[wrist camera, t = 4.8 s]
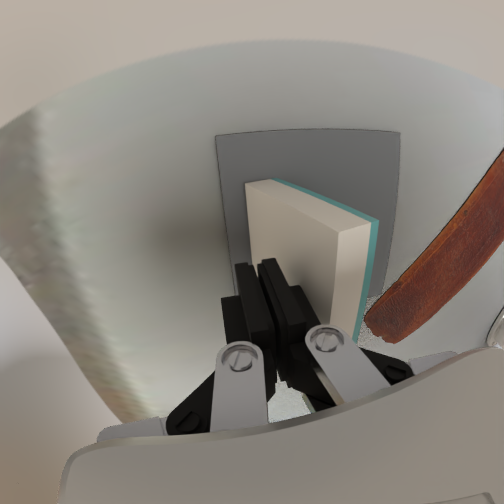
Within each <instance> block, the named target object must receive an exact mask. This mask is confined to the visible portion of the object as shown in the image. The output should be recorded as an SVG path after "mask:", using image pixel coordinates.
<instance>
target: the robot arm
mask: <svg viewBox="0 0 504 504" xmlns="http://www.w3.org/2000/svg"><path fill="white" fill-rule="evenodd" d="M234 266H235V274H236V281H237V288H238V295H237V296H230V297H224V298H221V304H222V311H223V319H224V327H225V334H226V341H227V345H226V346H224V347H223V348H222V349H221V350H220V351H219V353H218V355H217V358H216V368H215V371H214V372H213V373H212V374H211V375H210V376H209V377H208V378H207V379H206V380H205V381H204V382H203V383H202V384H201V385H200V386H199V387H198V388H197V389H196V390H194V391H193V392H192V393H191V394H190V395H189V396H188V397H187V398H186V399H185V400H184V401H183V402H182V403H181V404H179V405H178V406H177V407H176V408H175V409H174V410H173V411H172V412H171V413H170V414H169V416H168V417H165V418H161V419H160V418H159V416H157V417H153V418H149V419H145V420H140V421H136V422H131V423H126V424H121V425H115V426H110V427H107V428H104V429H103V430H102V431H101V432H100V433H99V435H98V437H97V443H94V444H91V445H88V446H86V447H83V448H81V449H79V450H78V451H76V452H74V453H73V454H72V455H71V456H70V457H69V459H68V460H67V462H66V464H65V466H64V469H63V472H62V475H61V479H60V484H59V490H58V498H57V504H504V308H503V310H502V311H501V313H500V315H499V316H498V318H497V319H496V321H495V323H494V325H493V326H492V328H491V330H490V332H489V335H488V337H487V344H488V345H489V346H490V347H485V348H477V349H473V350H469V351H466V352H463V353H461V354H457V353H455V352H452V351H448V352H443V353H438V354H434V355H429V356H425V357H420V358H415V359H409V361H408V363H405V362H404V361H401V360H399V359H396V358H392V357H389V356H386V355H382V354H379V353H376V352H373V351H370V350H366V349H363V348H360V347H358V346H357V345H356V344H355V342H354V341H353V340H352V339H351V338H350V336H349V335H348V334H347V333H346V332H345V331H344V330H343V329H342V328H340V327H338V326H335V325H330V324H322V325H321V323H320V321H319V319H318V317H317V315H316V313H315V312H314V310H313V308H312V306H311V304H310V302H309V301H308V299H307V297H306V295H305V293H304V291H303V290H302V288H301V286H300V285H294V286H289V284H288V282H287V280H286V278H285V276H284V274H283V272H282V270H281V268H280V266H279V264H278V262H277V260H276V258H268V259H262V260H261V263H259V264H257V272H258V277H257V274H256V271H255V268H254V265H248V262H243V263H237V264H234ZM497 343H498V344H499V345H500V346H501V347H502V348H503V349H500V348H497V347H491V346H494V345H495V344H497ZM277 371H278V374H279V377H280V380H281V382H282V381H286V383H287V386H288V388H291V387H292V388H293V389H295V390H297V391H300V392H301V396H302V398H303V400H304V402H305V404H306V405H307V407H308V409H309V410H310V412H311V414H308V415H304V416H300V417H296V418H292V419H288V420H283V421H279V422H274V423H269V421H268V405H267V402H268V401H269V400H270V399H271V397H272V396H273V395H274V394H275V383H277Z"/></svg>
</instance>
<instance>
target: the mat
mask: <svg viewBox="0 0 504 504" xmlns="http://www.w3.org/2000/svg"><path fill="white" fill-rule="evenodd" d="M215 137H216V146H217V155H218V164H219V172H220V181H221V189H222V197H223V206H224V213H225V221H226V229H227V237H228V244H229V252H230V259H231V266H232V273H233V281H234V288H235V295H236V296H237V295H238V288H237V281H236V274H235V266H234V264H237V263H243V262H248V265H252V255H251V244H250V233H249V223H248V212H247V201H246V190H245V183H250V182H255V181H261V180H267V179H272V178H279V179H281V180H284V181H287V182H289V183H292V184H295V185H297V186H300V187H302V188H305V189H307V190H310V191H313V192H315V193H318V194H320V195H322V196H325V197H327V198H330V199H332V200H334V201H337V202H339V203H342V204H344V205H346V206H349V207H351V208H353V209H355V210H358V211H360V212H362V213H364V214H366V215H369V216H371V217H373V218H375V219H377V220H379V226H378V234H377V242H376V249H375V256H374V262H373V269H372V275H371V280H370V286H369V291H368V296H367V298H369V297H372V296H376V295H380V294H381V293H382V289H383V284H384V279H385V274H386V269H387V264H388V259H389V253H390V247H391V241H392V234H393V227H394V220H395V211H396V202H397V192H398V179H399V163H400V133H398V132H388V131H374V130H354V129H294V130H274V131H259V132H247V133H237V134H228V135H219V136H215Z"/></svg>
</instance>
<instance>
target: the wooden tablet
mask: <svg viewBox="0 0 504 504" xmlns="http://www.w3.org/2000/svg"><path fill="white" fill-rule="evenodd" d="M503 240H504V150H503V152H502V153H501V155H500V156H499V157H498V158H497V160H496V161H495V163H494V164H493V165H492V167H491V168H490V169H489V171H488V172H487V174H486V175H485V177H484V178H483V179H482V181H481V182H480V183H479V185H478V186H477V187H476V189H475V190H474V191H473V193H472V194H471V196H470V197H469V198H468V200H467V201H466V202H465V204H464V205H463V206H462V208H461V209H460V210H459V211H458V213H457V214H456V215H455V216H454V217H453V218H452V219H451V221H450V222H449V223H448V224H447V226H446V227H445V228H444V229H443V230H442V232H441V233H440V234H439V235H438V236H437V237H436V238H435V240H434V241H433V242H432V243H431V244H430V245H429V246H428V248H427V249H426V250H425V251H424V252H423V253H422V254H421V255H420V256H419V258H418V259H417V260H416V261H415V262H414V263H413V264H412V265H411V266H410V267H409V268H408V269H407V270H406V271H405V273H404V274H403V275H402V276H401V277H400V278H399V280H398V281H397V282H395V283H394V284H393V285H392V286H391V288H390V289H389V290H388V291H387V292H386V293H385V294H384V295H383V296H382V297H381V298H380V299H379V300H378V301H377V302H376V303H375V305H374V306H373V307H372V308H371V310H370V311H369V312H368V313H367V315H366V316H365V319H364V321H365V323H366V324H367V327H368V328H370V330H371V331H372V333H373V334H374V335H375V336H377V337H379V336H382V339H383V340H384V341H385V342H387V343H393V344H395V343H397V342H399V341H401V340H403V339H404V338H405V337H407V336H408V335H410V334H411V333H413V332H414V331H415V330H416V329H418V328H419V327H420V326H422V325H423V324H424V323H425V322H427V321H428V320H429V319H430V318H431V317H432V316H433V315H435V314H436V313H437V312H438V311H439V310H440V309H441V308H442V307H443V306H444V305H445V304H446V303H447V302H448V301H449V300H450V299H451V298H452V297H453V296H454V295H456V294H457V293H458V292H459V291H460V290H461V289H462V288H463V287H464V286H465V285H466V284H467V283H468V282H469V281H470V279H471V278H472V277H473V276H474V275H475V274H476V273H477V272H478V271H479V270H480V269H481V267H482V266H483V265H484V264H485V263H486V262H487V261H488V259H489V258H490V257H491V256H492V254H493V253H494V252H495V251H496V249H497V248H498V247H499V245H500V244H501V243H502V242H503Z"/></svg>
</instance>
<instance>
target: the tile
mask: <svg viewBox="0 0 504 504" xmlns="http://www.w3.org/2000/svg"><path fill="white" fill-rule="evenodd" d="M245 190H246V201H247V212H248V223H249V233H250V244H251V255H252V265H254V268H255V271H256V274H257V277H258V272H257V264H259V263H261V260H262V259H268V258H276V260H277V262H278V264H279V266H280V268H281V270H282V272H283V274H284V276H285V278H286V280H287V282H288V284H289V286H294V285H300V286H301V288H302V290H303V291H304V293H305V295H306V297H307V299H308V301H309V302H310V304H311V306H312V308H313V310H314V312H315V313H316V315H317V317H318V319H319V321H320V323H321V325H322V324H330V325H335V326H338V327H340V328H342V329H343V330H344V331H345V332H346V333H347V334H348V335H349V336H350V338H351V339H352V340H353V341H354V342H355V344H357V340H358V336H359V332H360V328H361V324H362V319H363V315H364V310H365V306H366V301H367V296H368V291H369V286H370V280H371V275H372V269H373V262H374V256H375V249H376V242H377V234H378V226H379V220H377V219H375V218H373V217H371V216H369V215H366V214H364V213H362V212H360V211H358V210H355V209H353V208H351V207H349V206H346V205H344V204H342V203H339V202H337V201H334V200H332V199H330V198H327V197H325V196H322V195H320V194H318V193H315V192H313V191H310V190H307V189H305V188H302V187H300V186H297V185H295V184H292V183H289V182H287V181H284V180H281V179H279V178H272V179H267V180H261V181H255V182H250V183H245Z"/></svg>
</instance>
